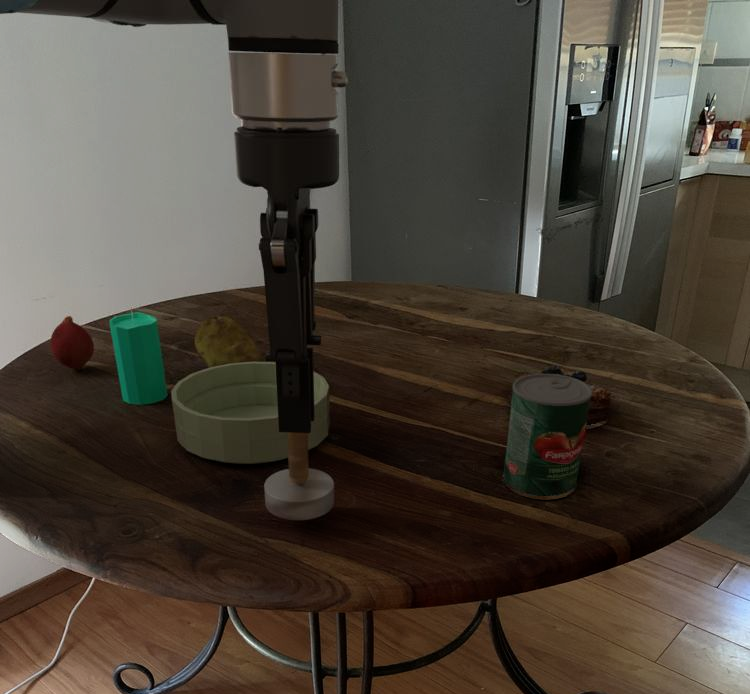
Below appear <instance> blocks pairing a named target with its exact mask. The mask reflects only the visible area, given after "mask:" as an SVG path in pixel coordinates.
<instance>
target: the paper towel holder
mask: <svg viewBox="0 0 750 694" xmlns="http://www.w3.org/2000/svg"><path fill="white" fill-rule="evenodd" d="M287 440H288V458H287V461H288V468H286V469H282V470H278V471H277V472H274V473H272V474H271V475H269V477H268V478H267V479H265V481H264V485H263V490H264V504H265V508H266V509H267V511H268V513H270V514H271V515H273V516H275V517H277V518H280V519H282V520H288V521H307V520H313V519H317V518H320V517H322V516H324V515H326V514H327V513H329V512H330V511H331V510H332V508H333V507H334V505H335V482H334V480H333V478H332V477H331V476H330V475H329V474H328V473H326V472H324V471H322V470H319V469H316V468H310V467H309V463H310V462H309V450H308V433H290V432H287Z"/></svg>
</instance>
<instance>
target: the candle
mask: <svg viewBox="0 0 750 694" xmlns="http://www.w3.org/2000/svg"><path fill="white" fill-rule="evenodd" d="M158 326H159V325H158V319H157V318H156V317H154V316H153V315H151V314H148V313H144V312H140V311H136V312H133V308H132V307H130V312H129V313H125V314H120V315H115V316H113V317H112V318H111V319H109V328H110V335H111V341H112V346H113V351H114V359H115V362H116V363H115V364H116V369H117V375H118V380H119V385H120V386H119V387H120V392H121V396H122V401H123V402H125V403H127V404H129V405H138V406H140V405H152V404H156V403H159V402H161V401H164V399H166V398H167V397H168V388H167V382H166V375H165V368H164V361H163V354H162V348H161V340H160V339H161V338H160V334H159V333H160V332H159V327H158Z"/></svg>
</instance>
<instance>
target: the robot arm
mask: <svg viewBox="0 0 750 694" xmlns="http://www.w3.org/2000/svg"><path fill="white" fill-rule="evenodd" d="M4 14H5V15H6V14H32V15H44V16H58V17H59V16H60V17H73V18H74V17H75V18H83V19H84V18H85V19H92V20H94V21H96V22H100V23H104V24H105V23H106V24H112V25H116V26H131V27H133V28H139V27H144V26H145V27H146V26H147V25H163V26H164V25H168V26H169V25H206V24H207V25H208V24H210V25H213V26H214V25H215V26H220V25H222V26H225V27H226V34H227V46H228V51H229V52H227V53H228V68H229V69H228V70H229V72H228V73H229V88H230V106H231V114H232V116H234V117H235V118H236V119H237V120H240V126H238V127H237V128H236V131H234V132H233V136H234V137H233V138H234V152H235V153H234V154H235V167H236V177H237V179H238V181H239V182H240V183H241V184H243V185H245V186H248V187H252V188H263V189H264V190H266V192H267V193H266V194H267V198H266V208H265V212H260V214H259V215H260V216H259V230H260V236H261V237H260V239H259V243H258V250H259V252H260V259H261V264H262V270H263V271H262V272H263V282H264V294H265V295H264V296H265V303H266V304H265V306H266V318H267V329H268V331H267V332H268V343H269V351H267V352H266V353H265V356H264V358H265V359H264V360H265V362H276V382H277V402H278V423H279V432H290V433H310V432H311V421H314V418H315V414H314V372H315V371H314V347H308V346H321V345H322V335H320V334H319V335H318V334H316V335H315V334H314V333H313V332H315V330H316V327H317V320H316V281H315V280H316V274H315V273H316V272H315V271H316V266H315V265H316V260H317V234H316V233H317V231H318V228H319V209H318V208H312V207H311V197H310V196H311V195H310V190H315V189H324V188H329V187H332V186H333V185H335V184H336V183H337V182H339V179H340V134H339V133H337V129H335V128H334V127H333V128H332V127H330V124H331V122H332V121H335V120H336V119H337V118H338V117H339V93H338V91H337V89H336V88H346V86H347V85H348V83H349V82H348V81H349V78H348V77H347V73H346V72H345V71H341V70H339V71H338V70H336V69H337V67H338V65H339V55H338V54H339V47H340V44H339V0H0V15H4Z"/></svg>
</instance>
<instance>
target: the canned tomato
mask: <svg viewBox="0 0 750 694" xmlns="http://www.w3.org/2000/svg"><path fill="white" fill-rule="evenodd" d="M523 376H524V375H523ZM516 379H517V378H516ZM591 396H592V389H591V388H590V387H589V386H588V385H587V384H586V383H584V382H582V381H580V380H578V379H575V378H572V377H568V376H563V375H556V374H540V373H533V374H531V375H530V374H529V375H527V376H524V377H521V378H519V379H517V380H516V381H515V382H514V384H513V394H512V401H511V409H509V411H510V413H509V421H508V429H507V431H508V432H507V437H506V448H505V456H504V464H503V467H504V468H503V474H502V477H504V480H505V482H506V483H507V484H508V485H509V486H510V487H512V488H514V489H515V490H517V491H520V492H522V493H527V494H530V495H531V494H532V495H537V496H551V495H552V496H553V495H559V494H563V493H567V492H568V491H570V490H572V489H573V488H574V487H575V485H576V486H577V480H578V476H579V469H580V465H581V464H580V463H581V459H582V453H583V447H584V440H585V435H586V430H585V429H586V425H587V419H588V412H589V406H590V399H591Z"/></svg>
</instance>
